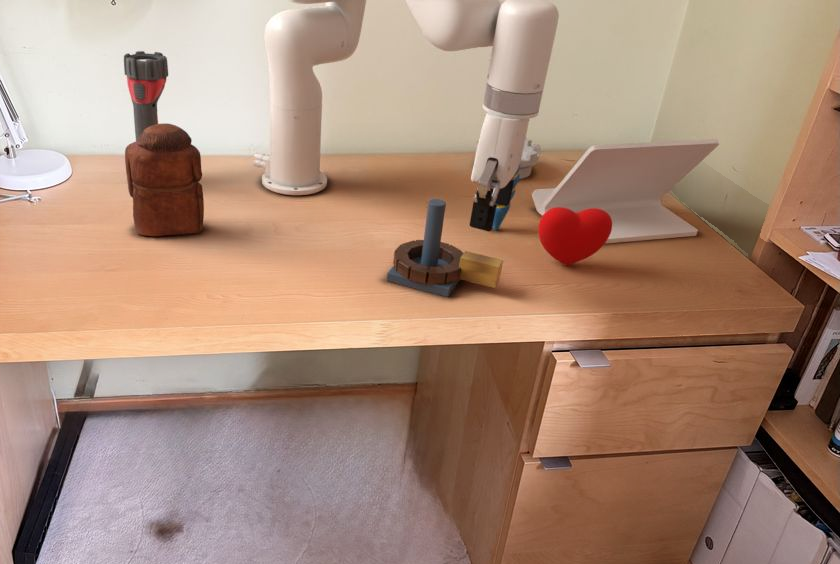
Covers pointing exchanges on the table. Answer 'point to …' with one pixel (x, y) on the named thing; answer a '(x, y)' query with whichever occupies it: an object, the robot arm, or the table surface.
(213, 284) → the table surface
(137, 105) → the flashlight
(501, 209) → the ornament
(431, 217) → the peg rack
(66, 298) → the table surface
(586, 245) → the heart
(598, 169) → the tablet stand
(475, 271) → the walnut ring
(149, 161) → the wooden figurine
